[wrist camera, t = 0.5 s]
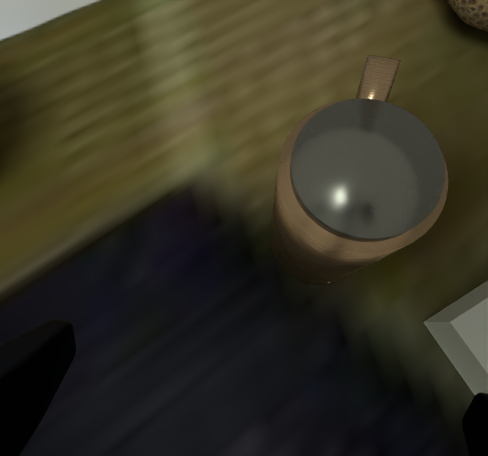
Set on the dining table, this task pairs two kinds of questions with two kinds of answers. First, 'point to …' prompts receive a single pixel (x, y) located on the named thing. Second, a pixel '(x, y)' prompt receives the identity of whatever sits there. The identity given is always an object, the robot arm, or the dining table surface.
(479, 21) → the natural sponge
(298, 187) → the spout can
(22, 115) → the dining table surface
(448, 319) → the tray
